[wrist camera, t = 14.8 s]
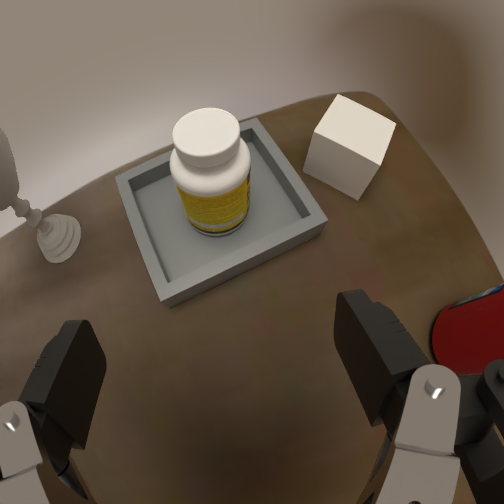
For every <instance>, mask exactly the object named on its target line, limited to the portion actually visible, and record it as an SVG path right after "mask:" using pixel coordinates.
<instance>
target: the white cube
mask: <svg viewBox="0 0 504 504" xmlns="http://www.w3.org/2000/svg"><path fill="white" fill-rule="evenodd" d="M395 125H396V123H394V122H393V121H391V120H389V119H387V118H385V117H383V116H382V115H380V114H378V113H376V112H374V111H372V110H370V109H368V108H366V107H364V106H362V105H360V104H358V103H356V102H354V101H352V100H350V99H348V98H345V97H343V96H341V95H339V94H338V95H337V96H336V98H335V100H334V101H333V103H332V104H331V106H330V107H329V109H328V110H327V112H326V113H325V115H324V116H323V118H322V120H321V121H320V123H319V124H318V126H317V127H316V129H315V130H314V132H313V136H312V140H311V143H310V147H309V150H308V154H307V157H306V161H305V164H304V168H303V171H302V172H304V173H306V174H308V175H310V176H312V177H314V178H316V179H318V180H320V181H322V182H324V183H326V184H328V185H330V186H332V187H334V188H335V189H337V190H339V191H341V192H343V193H345V194H347V195H348V196H350V197H352V198H354V199H356V200H357V201H358V200H359V198H360V197H361V195H362V194H363V192H364V191H365V189H366V187H367V186H368V184H369V183H370V181H371V180H372V178H373V177H374V175H375V173H376V172H377V170H378V169H379V167H380V165H381V163H382V160H383V158H384V155H385V152H386V150H387V147H388V144H389V142H390V139H391V136H392V134H393V131H394V128H395Z"/></svg>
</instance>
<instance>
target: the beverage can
mask: <svg viewBox="0 0 504 504" xmlns="http://www.w3.org/2000/svg"><path fill="white" fill-rule="evenodd" d="M432 344H433V350H434V354H435V357H436V359H437V361H438V363H439V364H440V365H441V366H444V367H447V368H448V369H450V370H451V371H453V372H454V373H483V371H484V369H485V368H486V366H487V365H488V364H489V363H490V362H491V361H493V360H498V359H502V360H504V283H503V284H500V285H498V286H496V287H493V288H491V289H488V290H486V291H483V292H481V293H478V294H475V295H473V296H470V297H468V298H465V299H463V300H460V301H457V302H455V303H452V304H450V305H448V306H447V307H445V308H444V309H443V310H442V311H441V313H440V314H439V316H438V317H437V319H436V322H435V325H434V328H433V335H432Z"/></svg>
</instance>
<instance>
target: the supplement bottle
mask: <svg viewBox="0 0 504 504" xmlns="http://www.w3.org/2000/svg"><path fill="white" fill-rule="evenodd" d="M172 137H173V138H172V139H173V143H174V147H175V148H174V149H173V151H172V154H171V157H170V171H171V174H172V177H173V180H174V183H175V186H176V189H177V191H178V194H179V197H180V200H181V203H182V206H183V208H184V211H185V214H186V217H187V219H188V221H189V223H190V224H191V225H192V226H193V227H194V228H195V229H196V230H197V231H199V232H201V233H203V234H206V235H210V236H221V235H226V234H229V233H231V232H233V231H235V230H236V229H237V228H239V227H240V226H241V225H242V224H243V222H244V221H245V219H246V217H247V215H248V212H249V204H250V170H251V157H250V152H249V149H248V147H247V145H246V143H245V142H244V141H243V139H242V138H241V137H240V127H239V123H238V121H237V120H236V118H235V117H234V116H233V115H232V114H230V113H229V112H227V111H225V110H222V109H217V108H203V109H198V110H195V111H192V112H190V113H188V114H186V115H185V116H183V117H182V118H181V119H180V120H179V121H178V122H177V124H176V125H175V127H174V130H173V135H172Z"/></svg>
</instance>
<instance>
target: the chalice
mask: <svg viewBox="0 0 504 504" xmlns="http://www.w3.org/2000/svg"><path fill="white" fill-rule="evenodd" d="M18 191H19V181H18V177H17V172H16V167H15V162H14V157H13V154H12V151H11V148H10V145H9V142H8V139H7V137H6V135H5V133H4V132H3V131H2V130H1V128H0V211H2V210H4V209H6V208H7V207H9V206H12V208H13V209H14V210H15V213H16V216H17V217H25V218H26V220H27V225H28V226H29V227H34V226H36V227H38V232H37V242H38V244H39V246H40V249H41V251H42V253H43V255H44V257H45V258H46V259H47V260H48V261H49V262H52V263H60V262H63V261H65V260H67V259H68V258H70V257H71V255H72V254H73V253H74V252H75V250H76V249H77V247H78V245H79V242H80V238H81V228H80V224H79V222H78V221H77V220H76V218H74V217H72V216H68V215H60V214H53V215H50V216H47V217H46V218H44V219H43V218H42V213H41V210H39V209H34V210H33V209H31V208H30V204H29V201H28V200H22V199H20V198H18V197H17V194H18Z"/></svg>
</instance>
